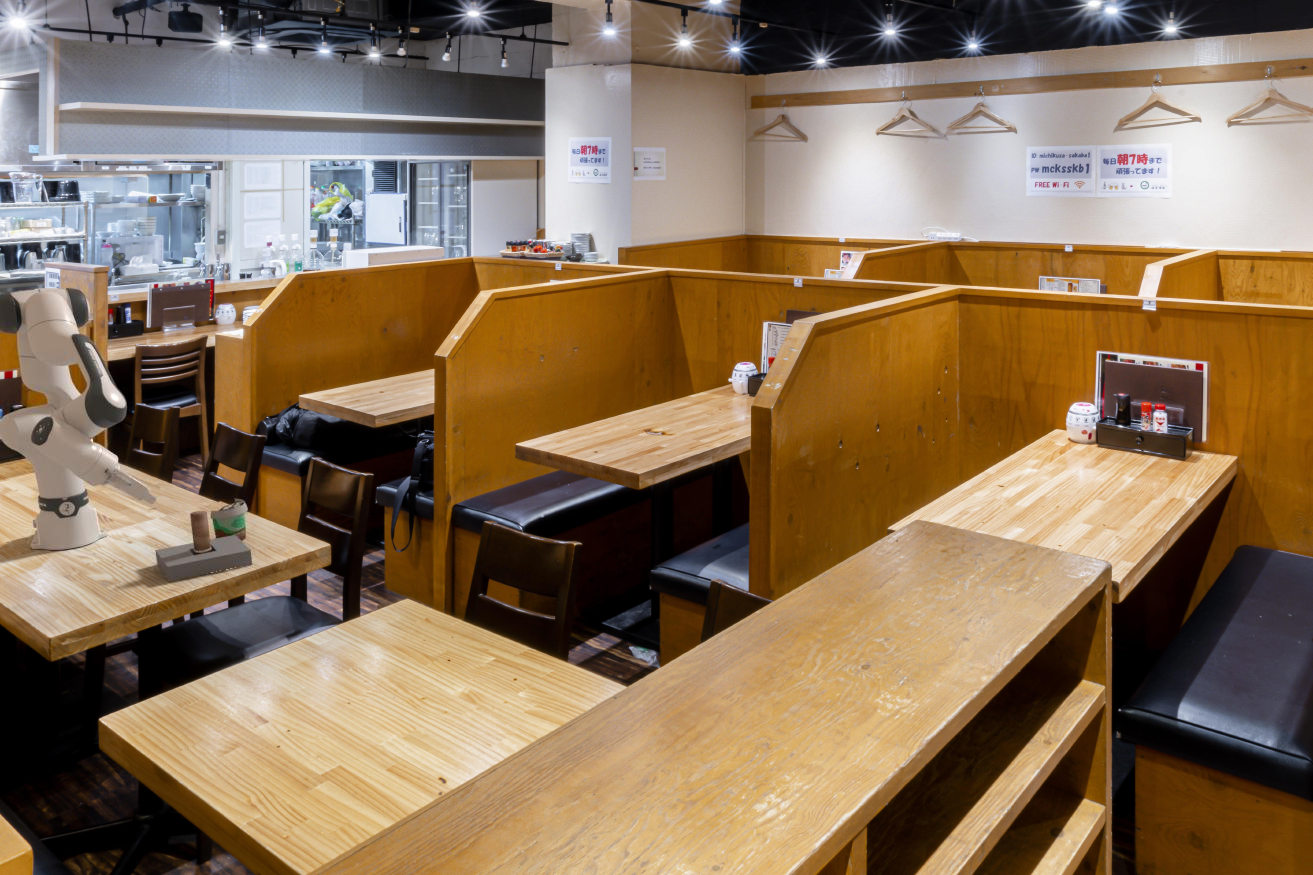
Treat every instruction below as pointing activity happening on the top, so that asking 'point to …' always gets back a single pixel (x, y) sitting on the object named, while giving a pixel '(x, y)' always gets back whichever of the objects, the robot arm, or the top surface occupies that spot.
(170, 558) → the board
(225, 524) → the food container
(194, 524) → the peg
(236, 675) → the top surface
